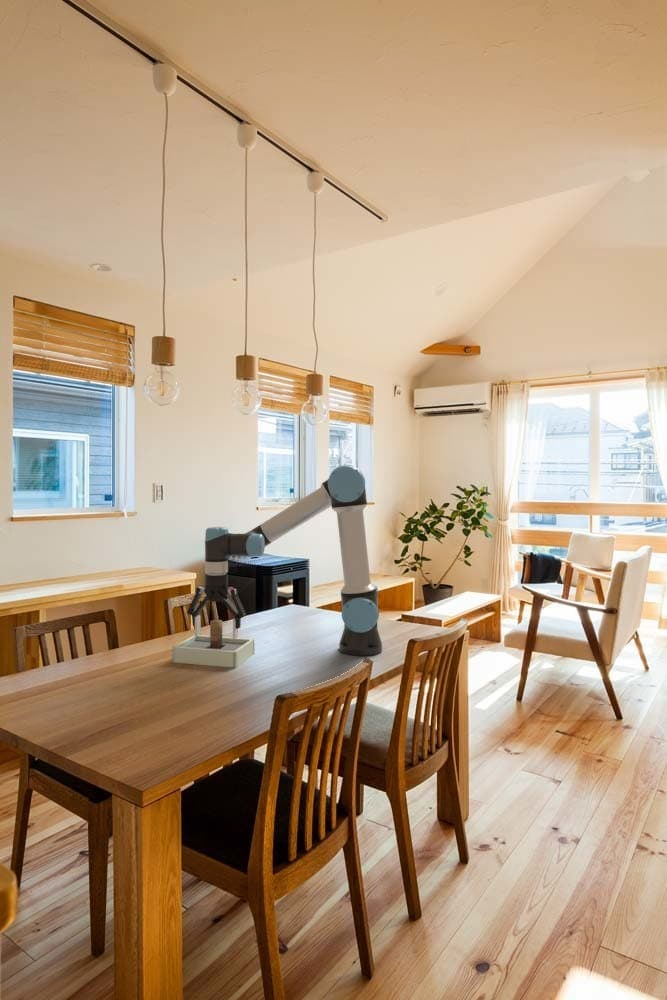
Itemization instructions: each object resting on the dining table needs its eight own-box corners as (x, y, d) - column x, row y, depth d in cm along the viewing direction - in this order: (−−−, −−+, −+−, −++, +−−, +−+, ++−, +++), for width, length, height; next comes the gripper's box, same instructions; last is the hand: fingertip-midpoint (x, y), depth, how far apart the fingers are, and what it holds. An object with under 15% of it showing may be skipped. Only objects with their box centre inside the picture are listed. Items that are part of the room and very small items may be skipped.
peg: (219, 658, 201) (219, 622, 200) (208, 657, 202) (208, 622, 201) (224, 655, 205) (224, 620, 204) (213, 654, 206) (213, 619, 205)
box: (254, 653, 207) (254, 639, 207) (235, 667, 191) (236, 652, 191) (195, 649, 212) (195, 634, 212) (172, 662, 197) (172, 647, 196)
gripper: (255, 573, 203) (255, 636, 204) (187, 570, 209) (187, 631, 210) (247, 576, 196) (247, 642, 196) (176, 573, 202) (176, 636, 202)
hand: (216, 636), depth 203 cm, fingers open, 13 cm apart
